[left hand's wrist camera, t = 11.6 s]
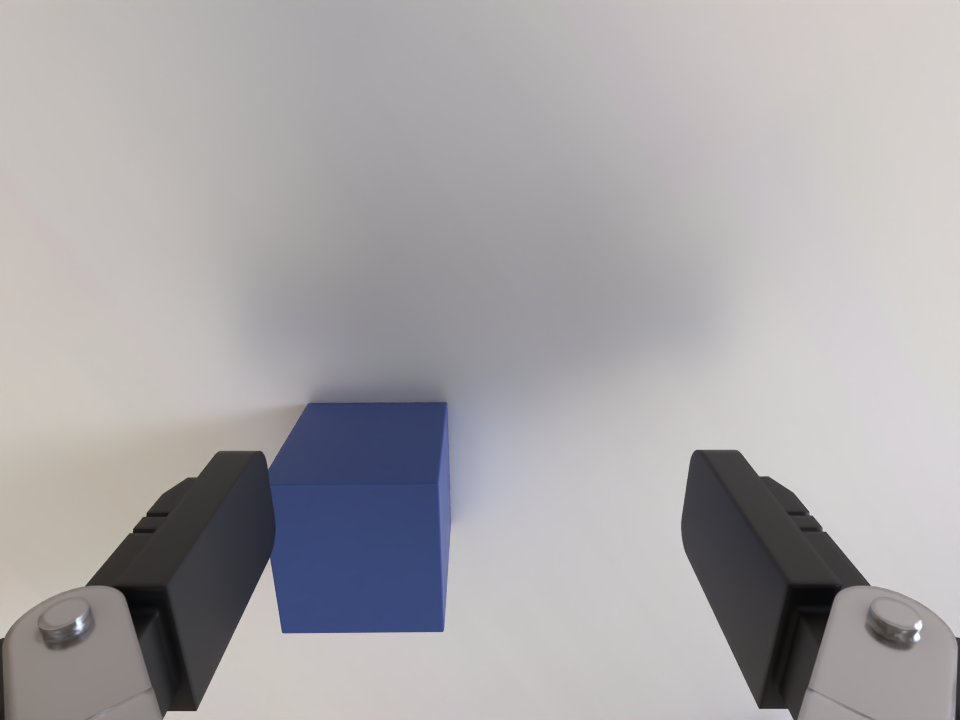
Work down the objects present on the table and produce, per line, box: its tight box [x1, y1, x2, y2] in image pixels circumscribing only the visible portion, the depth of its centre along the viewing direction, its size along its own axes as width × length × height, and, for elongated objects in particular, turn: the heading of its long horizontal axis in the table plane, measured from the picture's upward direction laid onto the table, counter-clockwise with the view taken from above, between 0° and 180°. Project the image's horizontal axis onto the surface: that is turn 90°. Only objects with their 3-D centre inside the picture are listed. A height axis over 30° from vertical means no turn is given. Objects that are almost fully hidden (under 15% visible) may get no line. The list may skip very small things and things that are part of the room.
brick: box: [268, 403, 451, 633], centre depth 18 cm, size 4×5×5 cm
